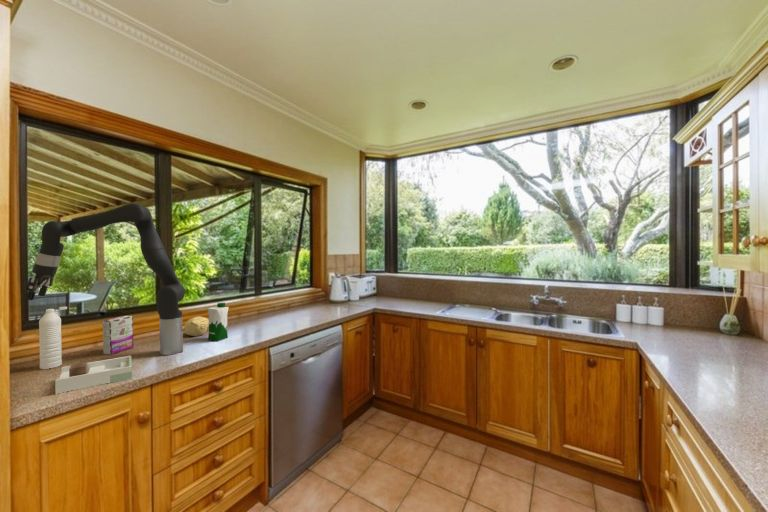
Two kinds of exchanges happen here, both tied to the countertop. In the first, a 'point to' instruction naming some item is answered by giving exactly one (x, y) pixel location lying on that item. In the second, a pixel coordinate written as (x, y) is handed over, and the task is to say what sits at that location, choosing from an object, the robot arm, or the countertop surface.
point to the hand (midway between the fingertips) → (35, 297)
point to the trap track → (95, 374)
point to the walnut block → (78, 369)
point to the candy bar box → (117, 334)
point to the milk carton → (218, 322)
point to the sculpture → (196, 326)
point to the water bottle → (50, 339)
